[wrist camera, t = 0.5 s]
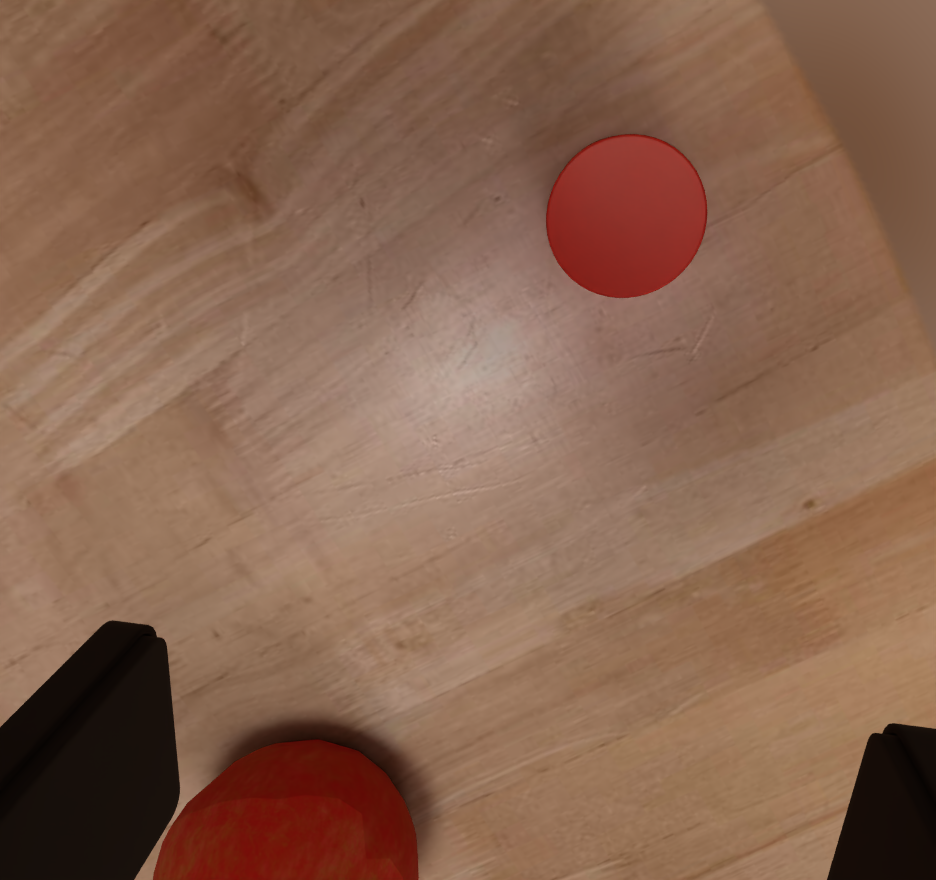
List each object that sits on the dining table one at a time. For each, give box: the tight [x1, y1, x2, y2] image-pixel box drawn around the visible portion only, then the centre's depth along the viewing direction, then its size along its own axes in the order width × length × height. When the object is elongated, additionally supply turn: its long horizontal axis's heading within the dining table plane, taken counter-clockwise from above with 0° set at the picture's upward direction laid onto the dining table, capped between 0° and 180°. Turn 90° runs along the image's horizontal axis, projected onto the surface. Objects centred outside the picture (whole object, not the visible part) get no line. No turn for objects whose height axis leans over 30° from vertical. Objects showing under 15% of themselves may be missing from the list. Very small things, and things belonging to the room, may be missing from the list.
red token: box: [546, 134, 707, 298], centre depth 24 cm, size 4×4×4 cm
